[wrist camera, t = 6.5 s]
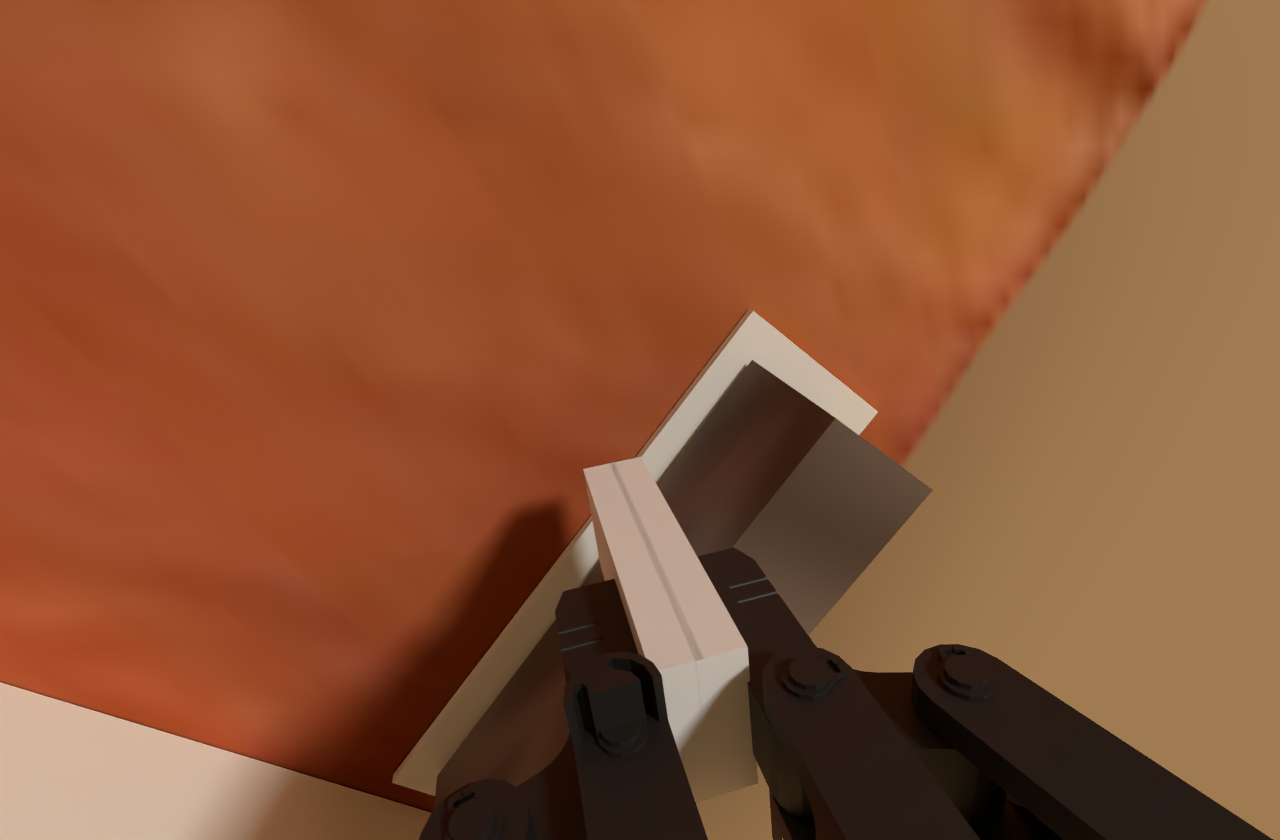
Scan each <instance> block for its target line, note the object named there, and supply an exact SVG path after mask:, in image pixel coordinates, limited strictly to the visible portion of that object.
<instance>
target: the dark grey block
mask: <svg viewBox="0 0 1280 840" xmlns="http://www.w3.org/2000/svg"><path fill="white" fill-rule="evenodd" d="M657 486H658V488H659V490H660V491H661V493H662V495H663V497H664V498H665V500H666V502H667V504H668V506H669V507H670V509H671V511H672V513H673V515H674V516H675V518H676V520H677V522H678V523H679V525H680V527H681V529H682V531H683V532H684V534H685V536H686V538H687V540H688V541H689V543H690V545H691V547H692V548H693V550H694V552H695V554H696V556H701V555H705V554H709V553H713V552H717V551H722V550H726V549H730V548H736V549H738V550H739V551H741V552H743V553H744V554H746V555H748V556H749V557H751V558H753V559H754V560H755V561H756V563H757V564H758V565H759V567H760V568H761V570H762V571H763V572H764V574H765V575H766V578H767V580H769V581H770V582H771V584H772V585H773V587H774V588H775V589H776V592H777V594H779V595H780V596H781V598H782V599H783V601H784V602H785V603H786V605H787V606H788V608H789V609H790V611H791V612H792V613H793V615H794V616H795V618H796V619H797V620H798V622H799V623H800V625H801V626H802V628H803V629H804V630H805V632H806V633H807V635H809V634H810V633H811V632H812V631H813V629H814V628H815V627H816V626H817V625H818V623H819V622H820V621H821V620H822V619H823V618H824V617H825V615H826V614H827V613H828V612H829V611H830V610H831V608H832V607H833V606H834V605H835V604H836V603H837V601H838V600H839V599H840V598H841V597H842V595H843V594H844V593H845V592H846V591H847V590H848V589H849V587H850V586H851V585H852V583H854V581H855V580H856V579H857V578H858V577H859V576H860V574H861V573H862V572H863V571H864V570H865V569H866V567H867V566H868V565H869V564H870V563H871V562H872V560H873V559H874V558H875V557H876V556H877V555H878V553H879V552H880V551H881V550H882V549H883V547H884V546H885V545H886V544H887V543H888V542H889V541H890V539H891V538H892V537H893V536H894V534H896V532H897V531H898V530H899V529H900V528H901V527H902V525H903V524H904V523H905V522H906V521H907V519H908V518H909V517H910V516H911V515H912V514H913V512H914V511H915V510H916V509H917V508H918V507H919V505H920V504H921V503H922V502H923V501H924V500H925V498H926V497H927V496H928V495H929V494H930V493H931V491H932V490H931V489H930V488H929V487H928V486H926V485H925V484H924V483H922V482H921V481H920V480H918V479H917V478H916V477H914V476H913V475H912V474H910V473H909V472H908V471H906V470H905V469H904V468H902V467H901V466H900V465H898V464H897V463H895V462H894V461H893V460H891V459H890V458H889V457H887V456H886V455H885V454H883V453H882V452H881V451H879V450H878V449H877V448H875V447H874V446H873V445H871V444H870V443H869V442H867V441H866V440H865V439H863V438H862V437H861V436H859V435H858V434H857V433H855V432H854V431H853V430H851V429H850V428H848V427H847V426H846V425H844V424H843V423H842V422H840V421H839V420H838V419H836V418H835V417H834V416H832V415H831V414H829V413H828V412H826V411H825V410H824V409H822V408H821V407H819V406H818V405H816V404H815V403H813V402H812V401H811V400H809V399H808V398H806V397H805V396H803V395H802V394H801V393H799V392H798V391H796V390H795V389H793V388H792V387H791V386H789V385H788V384H786V383H785V382H783V381H782V380H781V379H779V378H778V377H776V376H775V375H773V374H772V373H771V372H769V371H768V370H766V369H765V368H763V367H762V366H760V365H759V364H758V363H756V362H755V361H753V360H752V361H751V362H750V363H749V365H748V366H747V367H746V369H745V370H744V371H743V373H742V374H741V375H740V376H739V378H738V379H737V380H736V382H735V383H734V384H733V386H732V387H731V388H730V390H729V391H728V392H727V394H726V395H725V396H724V398H723V399H722V400H721V402H720V403H719V404H718V406H717V407H716V408H715V410H714V411H713V412H712V413H711V415H710V416H709V417H708V419H707V420H706V421H705V423H704V424H703V425H702V427H701V428H700V429H699V431H698V432H697V433H696V435H695V436H694V437H693V439H692V440H691V441H690V443H689V444H688V445H687V447H686V448H685V449H684V450H683V452H682V453H681V454H680V456H679V457H678V458H677V460H676V461H675V462H674V464H673V465H672V466H671V468H670V469H669V470H668V472H667V473H666V474H665V476H664V477H663V478H662V480H661V481H660V482H659V484H658V485H657ZM603 581H605V579H604V576H603V573H602V569H601V565H600V561H599V563H598V564H597V565H596V567H595V568H594V569H593V571H592V572H591V573H590V575H589V576H588V577H587V579H586V580H585V581H584V583H583V584H582V585H581V587H582V586H586V585H591V584H595V583H599V582H603ZM565 685H566V680H565V673H564V667H563V660H562V654H561V648H560V641H559V634H558V628H557V622H556V620H555V621H554V622H553V624H552V625H551V626H550V628H549V629H548V630H547V632H546V633H545V634H544V636H543V637H542V638H541V639H540V641H539V642H538V643H537V645H536V646H535V647H534V649H533V650H532V651H531V653H530V654H529V655H528V657H527V658H526V659H525V661H524V662H523V663H522V665H521V666H520V667H519V669H518V670H517V671H516V673H515V674H514V675H513V676H512V678H511V679H510V680H509V682H508V683H507V684H506V686H505V687H504V688H503V690H502V691H501V692H500V694H499V695H498V696H497V698H496V699H495V700H494V702H493V703H492V704H491V706H490V707H489V708H488V710H487V711H486V712H485V713H484V715H483V716H482V717H481V719H480V720H479V721H478V723H477V724H476V725H475V727H474V728H473V729H472V731H471V732H470V733H469V735H468V736H467V737H466V739H465V740H464V741H463V743H462V744H461V745H460V747H459V748H458V749H457V750H456V752H455V753H454V754H453V756H452V757H451V758H450V760H449V761H448V762H447V764H446V765H445V766H444V768H443V769H442V770H441V772H440V773H439V774H438V776H437V782H436V792H435V802H434V809H435V808H436V807H437V806H438V805H439V804H440V803H441V802H442V801H443V800H444V799H445V798H446V797H447V796H448V795H449V794H451V793H453V792H454V791H456V790H458V789H459V788H461V787H463V786H464V785H466V784H468V783H472V782H476V781H480V780H484V779H497V780H505V781H507V782H509V783H510V784H512V785H513V786H515V787H517V786H518V785H520V784H522V783H523V782H525V781H526V780H528V779H530V778H531V777H533V776H534V775H536V774H538V773H539V772H540V771H541V770H543V769H544V768H545V767H547V766H548V765H549V764H551V762H552V761H553V760H554V759H555V758H556V757H557V756H558V755H559V753H560V752H561V751H562V749H563V747H564V745H565V744H566V742H567V740H568V737H569V733H570V729H569V725H568V721H567V716H566V712H565V708H564V703H563V699H564V690H565Z"/></svg>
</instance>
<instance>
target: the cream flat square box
mask: <svg viewBox="0 0 1280 840" xmlns="http://www.w3.org/2000/svg"><path fill="white" fill-rule="evenodd" d="M430 815H431V812H428V811H424V810H421V809H418V808H414V807H411V806H408V805H404V804H401V803H398V802H394V801H391V800H388V799H385V798H381V797H378V796H375V795H371V794H368V793H365V792H361V791H358V790H355V789H351V788H348V787H345V786H341V785H338V784H335V783H332V782H328V781H325V780H322V779H318V778H315V777H312V776H308V775H305V774H302V773H298V772H295V771H292V770H288V769H285V768H282V767H279V766H275V765H272V764H269V763H265V762H262V761H259V760H255V759H252V758H249V757H245V756H242V755H239V754H235V753H232V752H229V751H226V750H222V749H219V748H216V747H212V746H209V745H206V744H202V743H199V742H196V741H192V740H189V739H186V738H182V737H179V736H176V735H173V734H169V733H166V732H163V731H159V730H156V729H153V728H149V727H146V726H143V725H139V724H136V723H133V722H129V721H126V720H123V719H120V718H116V717H113V716H110V715H106V714H103V713H100V712H96V711H93V710H90V709H86V708H83V707H80V706H77V705H73V704H70V703H67V702H63V701H60V700H57V699H53V698H50V697H47V696H43V695H40V694H37V693H33V692H30V691H27V690H24V689H20V688H17V687H14V686H10V685H7V684H4V683H0V840H419V838H420V835H421V832H422V830H423V828H424V826H425V824H426V823H427V821H428V819H429V817H430Z"/></svg>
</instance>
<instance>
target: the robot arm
mask: <svg viewBox="0 0 1280 840" xmlns="http://www.w3.org/2000/svg"><path fill="white" fill-rule="evenodd" d="M583 471H584V477H585V482H586V488H587V493H588V499H589V504H590V510H591V515H592V521H593V527H594V532H595V538H596V543H597V549H598V554H599V560H600V565H601V569H602V573H603V576H604V579H605V581H603V582H599V583H595V584H591V585H586V586H582V587H578V588H574V589H570V590H566V591H563V593H562V595H561V598H560V600H559V602H558V605H557V607H556V610H555V615H556V622H557V628H558V634H559V641H560V648H561V654H562V660H563V667H564V673H565V680H566V685H565V690H564V699H563V703H564V708H565V712H566V716H567V721H568V725H569V729H570V733H569V737H568V740H567V742H566V744H565V745H564V747H563V749H562V751H561V752H560V753H559V755H558V756H557V757H556V758H555V759H554V760H553V761H552V762H551V764H549V765H548V766H547V767H545V768H544V769H543V770H541V771H540V772H539V773H538V774H536V775H534V776H533V777H531V778H530V779H528V780H526V781H525V782H523V783H522V784H520V785H518V786H517V787H515V786H513V785H512V784H510V783H509V782H507V781H505V780H497V779H484V780H480V781H476V782H472V783H468V784H466V785H464V786H463V787H461V788H459V789H458V790H456V791H454V792H453V793H451V794H449V795H448V796H447V797H446V798H445V799H444V800H443V801H442V802H441V803H440V804H439V805H438V806H437V807H436V808H435V809H434V811H433V812H432V813H431V815H430V817H429V819H428V821H427V823H426V824H425V826H424V828H423V830H422V832H421V835H420V838H419V840H708V839H707V836H706V833H705V830H704V827H703V824H702V821H701V818H700V815H699V812H698V809H697V806H696V802H699V801H702V800H705V799H708V798H712V797H715V796H719V795H722V794H725V793H728V792H731V791H735V790H738V789H741V788H744V787H747V786H751V785H754V784H757V783H758V777H757V763H758V765H759V767H760V769H761V771H762V773H763V776H764V778H765V780H766V782H767V784H768V786H769V793H770V808H771V823H772V837H773V840H782V837H783V839H784V840H1273V839H1271V838H1270V837H1268V836H1266V835H1265V834H1264V833H1262V832H1261V831H1259V830H1258V829H1256V828H1255V827H1253V826H1251V825H1250V824H1248V823H1247V822H1245V821H1244V820H1242V819H1241V818H1239V817H1238V816H1236V815H1234V814H1233V813H1232V812H1230V811H1229V810H1227V809H1226V808H1224V807H1222V806H1221V805H1220V804H1218V803H1216V802H1215V801H1213V800H1212V799H1210V798H1209V797H1207V796H1206V795H1204V794H1203V793H1201V792H1200V791H1198V790H1197V789H1195V788H1193V787H1192V786H1191V785H1189V784H1187V783H1186V782H1185V781H1183V780H1182V779H1180V778H1179V777H1177V776H1175V775H1174V774H1172V773H1171V772H1169V771H1168V770H1166V769H1165V768H1163V767H1162V766H1160V765H1159V764H1157V763H1156V762H1154V761H1153V760H1151V759H1150V758H1148V757H1147V756H1145V755H1144V754H1142V753H1141V752H1139V751H1137V750H1136V749H1134V748H1133V747H1131V746H1130V745H1128V744H1127V743H1125V742H1124V741H1122V740H1121V739H1119V738H1118V737H1116V736H1115V735H1113V734H1111V733H1110V732H1109V731H1107V730H1106V729H1104V728H1102V727H1101V726H1099V725H1098V724H1096V723H1095V722H1093V721H1092V720H1090V719H1089V718H1087V717H1086V716H1084V715H1083V714H1081V713H1079V712H1078V711H1077V710H1075V709H1074V708H1072V707H1071V706H1069V705H1067V704H1066V703H1064V702H1063V701H1061V700H1060V699H1058V698H1057V697H1055V696H1054V695H1052V694H1051V693H1049V692H1048V691H1046V690H1045V689H1043V688H1042V687H1040V686H1039V685H1037V684H1036V683H1034V682H1032V681H1031V680H1030V679H1028V678H1026V677H1025V676H1023V675H1022V674H1020V673H1019V672H1017V671H1016V670H1014V669H1012V668H1011V667H1010V666H1008V665H1007V664H1005V663H1004V662H1002V661H1001V660H999V659H998V658H996V657H993V656H992V655H990V654H988V653H986V652H984V651H982V650H979V649H976V648H972V647H967V646H964V645H959V644H951V645H950V644H949V645H938V646H935V647H932V648H929V649H926V650H924V651H923V652H922V653H921V654H920V655H919V656H918V657H917V658H916V659H915V664H914V669H913V672H909V673H908V672H906V673H905V672H904V673H875V672H863V671H858V670H854V669H852V668H851V667H850V666H849V665H848V664H847V663H846V662H844V660H842V659H841V658H840V657H839V656H837V655H835V654H833V653H831V652H829V651H826V650H824V649H821V648H817V647H816V646H815V645H814V643H813V642H812V640H811V639H810V637H809V636H808V635H807V633H806V632H805V630H804V629H803V628H802V626H801V625H800V623H799V622H798V620H797V619H796V618H795V616H794V615H793V613H792V612H791V611H790V609H789V608H788V606H787V605H786V603H785V602H784V601H783V599H782V598H781V596H780V595H779V594H777V592H776V589H775V588H774V587H773V585H772V584H771V582H770V581H769V580H767V578H766V575H765V574H764V572H763V571H762V570H761V568H760V567H759V565H758V564H757V563H756V561H755V560H754V559H753V558H751V557H749V556H748V555H746V554H744V553H743V552H741V551H739V550H738V549H736V548H730V549H726V550H722V551H717V552H713V553H709V554H705V555H701V556H696V554H695V552H694V550H693V548H692V547H691V545H690V543H689V541H688V540H687V538H686V536H685V534H684V532H683V531H682V529H681V527H680V525H679V523H678V522H677V520H676V518H675V516H674V515H673V513H672V511H671V509H670V507H669V506H668V504H667V502H666V500H665V498H664V497H663V495H662V493H661V491H660V490H659V488H658V486H657V484H656V482H655V481H654V479H653V477H652V475H651V473H650V472H649V470H648V468H647V466H646V465H645V463H644V461H643V459H642V457H637V458H633V459H628V460H623V461H619V462H614V463H609V464H605V465H600V466H595V467H591V468H586V469H583ZM756 761H757V763H756Z"/></svg>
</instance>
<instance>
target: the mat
mask: <svg viewBox="0 0 1280 840" xmlns="http://www.w3.org/2000/svg"><path fill="white" fill-rule="evenodd" d="M752 360H753V361H755V362H756V363H758V364H759V365H760V366H762V367H763V368H765V369H766V370H768V371H769V372H771V373H772V374H773V375H775V376H776V377H778V378H779V379H781V380H782V381H783V382H785V383H786V384H788V385H789V386H791V387H792V388H793V389H795V390H796V391H798V392H799V393H801V394H802V395H803V396H805V397H806V398H808V399H809V400H811V401H812V402H813V403H815V404H816V405H818V406H819V407H821V408H822V409H824V410H825V411H826V412H828V413H829V414H831V415H832V416H834V417H835V418H836V419H838V420H839V421H840V422H842V423H843V424H844V425H846V426H847V427H848V428H850V429H851V430H853V431H854V432H855V433H857V434H858V435H859V434H860V433H861V432H862V431H863V430H864V428H865V427H866V426H867V425H868V424H869V422H870V421H871V420H872V419H873V418H874V416H875V415H876V414H877V413H878V411H876V410H875V409H874V408H873V407H871V406H870V405H869V404H868V403H866V402H865V401H864V400H863V399H861V398H860V397H859V396H858V395H857V394H855V393H854V392H853V391H852V390H850V389H849V388H848V387H847V386H845V385H844V384H843V383H842V382H841V381H839V380H838V379H837V378H836V377H834V376H833V375H832V374H831V373H829V372H828V371H827V370H826V369H824V368H823V367H822V366H821V365H820V364H818V363H817V362H816V361H815V360H813V359H812V358H811V357H810V356H808V355H807V354H806V353H805V352H803V351H802V350H801V349H800V348H799V347H797V346H796V345H795V344H794V343H792V342H791V341H790V340H789V339H787V338H786V337H785V336H784V335H783V334H781V333H780V332H779V331H778V330H776V329H775V328H774V327H773V326H771V325H770V324H769V323H768V322H766V321H765V320H764V319H763V318H762V317H760V316H759V315H758V314H757V313H755V312H754V311H753V310H751V309H748V311H747V312H746V313H745V315H744V316H743V317H742V318H741V320H740V321H739V322H738V324H737V325H736V326H735V328H734V329H733V330H732V332H731V333H730V334H729V335H728V337H727V338H726V339H725V341H724V342H723V343H722V345H721V346H720V347H719V349H718V350H717V351H716V352H715V354H714V355H713V356H712V358H711V359H710V360H709V362H708V363H707V364H706V366H705V367H704V368H703V370H702V371H701V372H700V373H699V375H698V376H697V377H696V379H695V380H694V381H693V383H692V384H691V385H690V387H689V388H688V389H687V390H686V392H685V393H684V394H683V396H682V397H681V398H680V400H679V401H678V402H677V404H676V405H675V406H674V407H673V409H672V410H671V411H670V413H669V414H668V415H667V417H666V418H665V419H664V421H663V422H662V423H661V425H660V426H659V427H658V428H657V430H656V431H655V432H654V434H653V435H652V436H651V438H650V439H649V440H648V442H647V443H646V444H645V445H644V447H643V448H642V449H641V451H640V452H639V453H638V455H637V456H636V457H635V458H637V457H642V459H643V461H644V463H645V465H646V466H647V468H648V470H649V472H650V473H651V475H652V477H653V479H654V481H655V482H656V484H657V485H658V484H659V482H660V481H661V480H662V478H663V477H664V476H665V474H666V473H667V472H668V470H669V469H670V468H671V466H672V465H673V464H674V462H675V461H676V460H677V458H678V457H679V456H680V454H681V453H682V452H683V450H684V449H685V448H686V447H687V445H688V444H689V443H690V441H691V440H692V439H693V437H694V436H695V435H696V433H697V432H698V431H699V429H700V428H701V427H702V425H703V424H704V423H705V421H706V420H707V419H708V417H709V416H710V415H711V413H712V412H713V411H714V410H715V408H716V407H717V406H718V404H719V403H720V402H721V400H722V399H723V398H724V396H725V395H726V394H727V392H728V391H729V390H730V388H731V387H732V386H733V384H734V383H735V382H736V380H737V379H738V378H739V376H740V375H741V374H742V373H743V371H744V370H745V369H746V367H747V366H748V365H749V363H750V362H751V361H752ZM599 561H600V560H599V554H598V549H597V543H596V538H595V532H594V527H593V521H592V515H591V516H590V517H589V519H588V520H587V521H586V523H585V524H584V525H583V527H582V528H581V529H580V531H579V532H578V533H577V534H576V536H575V537H574V538H573V540H572V541H571V542H570V544H569V545H568V546H567V548H566V549H565V550H564V552H563V553H562V554H561V555H560V557H559V558H558V559H557V561H556V562H555V563H554V565H553V566H552V567H551V569H550V570H549V571H548V572H547V574H546V575H545V576H544V578H543V579H542V580H541V582H540V583H539V584H538V586H537V587H536V588H535V589H534V591H533V592H532V593H531V595H530V596H529V597H528V599H527V600H526V601H525V603H524V604H523V605H522V607H521V608H520V609H519V610H518V612H517V613H516V614H515V616H514V617H513V618H512V620H511V621H510V622H509V624H508V625H507V626H506V627H505V629H504V630H503V631H502V633H501V634H500V635H499V637H498V638H497V639H496V641H495V642H494V643H493V644H492V646H491V647H490V648H489V650H488V651H487V652H486V654H485V655H484V656H483V658H482V659H481V660H480V662H479V663H478V664H477V665H476V667H475V668H474V669H473V671H472V672H471V673H470V675H469V676H468V677H467V679H466V680H465V681H464V682H463V684H462V685H461V686H460V688H459V689H458V690H457V692H456V693H455V694H454V696H453V697H452V698H451V699H450V701H449V702H448V703H447V705H446V706H445V707H444V709H443V710H442V711H441V713H440V714H439V715H438V717H437V718H436V719H435V720H434V722H433V723H432V724H431V726H430V727H429V728H428V730H427V731H426V732H425V734H424V735H423V736H422V737H421V739H420V740H419V741H418V743H417V744H416V745H415V747H414V748H413V749H412V751H411V752H410V753H409V754H408V756H407V757H406V758H405V760H404V761H403V762H402V764H401V765H400V766H399V768H398V769H397V770H396V772H395V773H394V774H393V779H392V783H394V784H397V785H401V786H404V787H407V788H410V789H413V790H417V791H420V792H423V793H426V794H429V795H433V796H435V792H436V782H437V776H438V774H439V773H440V772H441V770H442V769H443V768H444V766H445V765H446V764H447V762H448V761H449V760H450V758H451V757H452V756H453V754H454V753H455V752H456V750H457V749H458V748H459V747H460V745H461V744H462V743H463V741H464V740H465V739H466V737H467V736H468V735H469V733H470V732H471V731H472V729H473V728H474V727H475V725H476V724H477V723H478V721H479V720H480V719H481V717H482V716H483V715H484V713H485V712H486V711H487V710H488V708H489V707H490V706H491V704H492V703H493V702H494V700H495V699H496V698H497V696H498V695H499V694H500V692H501V691H502V690H503V688H504V687H505V686H506V684H507V683H508V682H509V680H510V679H511V678H512V676H513V675H514V674H515V673H516V671H517V670H518V669H519V667H520V666H521V665H522V663H523V662H524V661H525V659H526V658H527V657H528V655H529V654H530V653H531V651H532V650H533V649H534V647H535V646H536V645H537V643H538V642H539V641H540V639H541V638H542V637H543V636H544V634H545V633H546V632H547V630H548V629H549V628H550V626H551V625H552V624H553V622H554V621H555V620H556V615H555V610H556V607H557V605H558V602H559V600H560V598H561V595H562V593H563V591H566V590H570V589H574V588H578V587H581V585H582V584H583V583H584V581H585V580H586V579H587V577H588V576H589V575H590V573H591V572H592V571H593V569H594V568H595V567H596V565H597V564H598V563H599Z"/></svg>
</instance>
